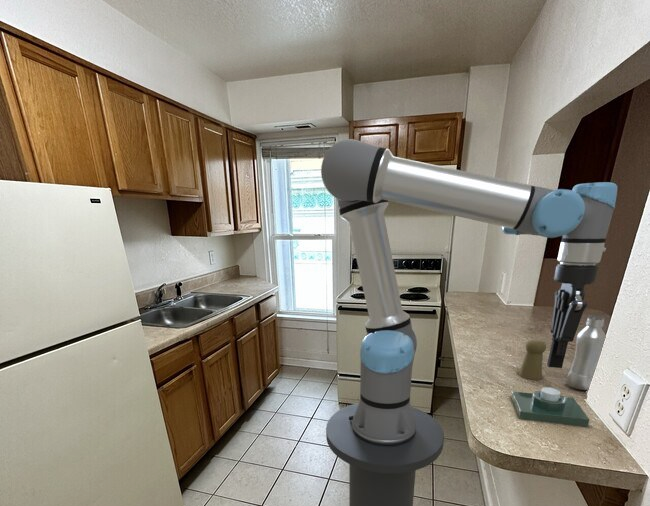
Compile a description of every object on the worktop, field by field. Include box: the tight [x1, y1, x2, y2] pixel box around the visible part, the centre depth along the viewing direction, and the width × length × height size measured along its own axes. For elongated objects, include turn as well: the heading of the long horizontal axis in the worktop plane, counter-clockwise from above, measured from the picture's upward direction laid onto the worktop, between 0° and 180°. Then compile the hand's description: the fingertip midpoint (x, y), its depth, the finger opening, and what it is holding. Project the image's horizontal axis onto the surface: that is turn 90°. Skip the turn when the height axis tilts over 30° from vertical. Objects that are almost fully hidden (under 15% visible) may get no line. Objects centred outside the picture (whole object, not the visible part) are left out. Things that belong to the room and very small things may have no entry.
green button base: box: [511, 390, 590, 428], centre depth 86 cm, size 14×11×4 cm
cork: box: [518, 339, 547, 381], centre depth 105 cm, size 6×6×11 cm
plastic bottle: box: [566, 316, 607, 391], centre depth 95 cm, size 6×7×20 cm
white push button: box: [540, 386, 562, 402], centre depth 85 cm, size 4×4×2 cm
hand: (554, 366), depth 83 cm, fingers closed
